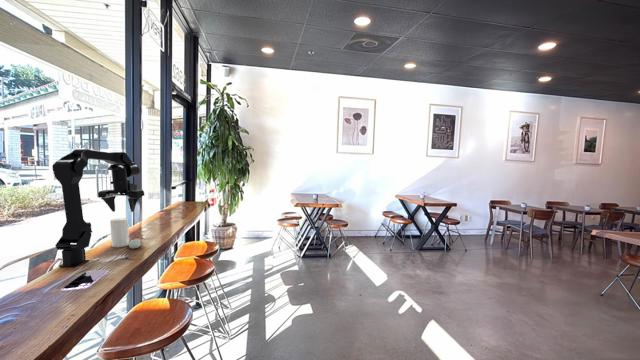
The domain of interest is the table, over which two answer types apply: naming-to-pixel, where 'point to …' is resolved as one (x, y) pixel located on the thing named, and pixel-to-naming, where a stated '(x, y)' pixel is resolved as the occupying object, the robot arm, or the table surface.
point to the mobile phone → (85, 280)
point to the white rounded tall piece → (119, 232)
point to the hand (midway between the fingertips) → (123, 211)
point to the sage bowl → (134, 243)
